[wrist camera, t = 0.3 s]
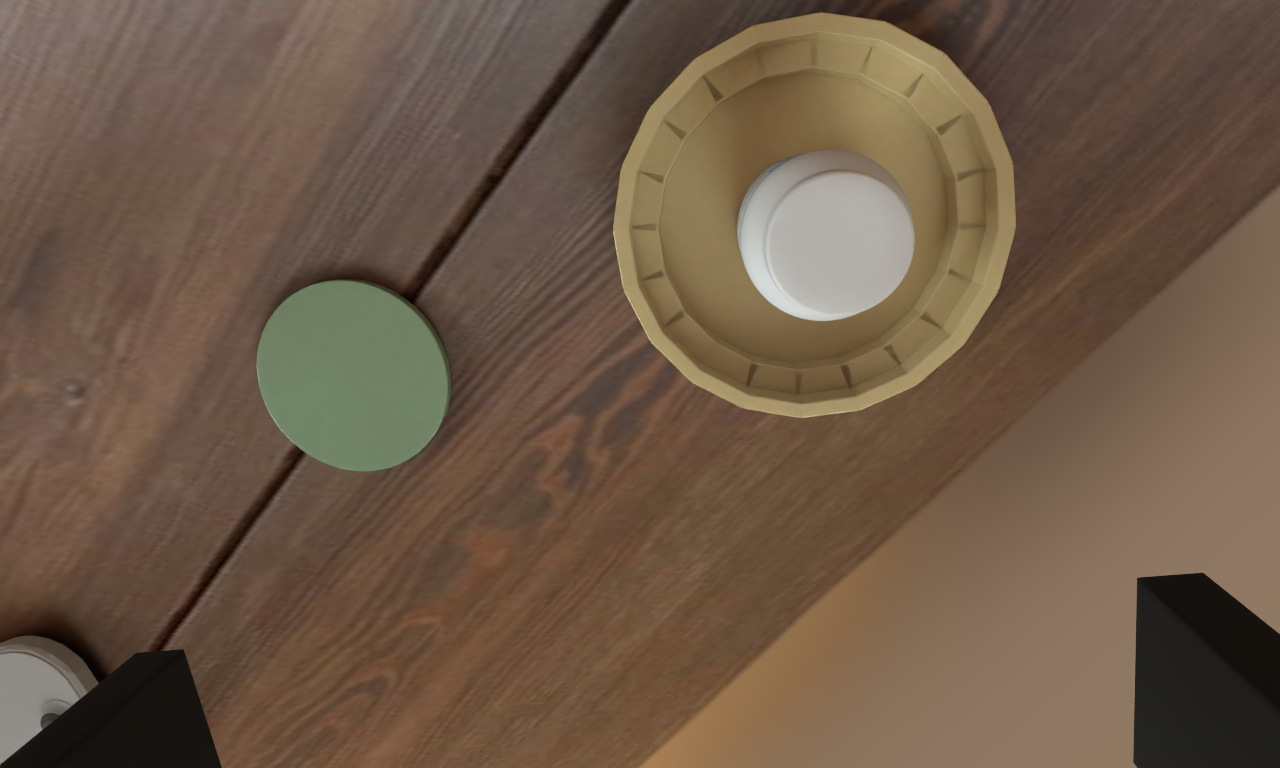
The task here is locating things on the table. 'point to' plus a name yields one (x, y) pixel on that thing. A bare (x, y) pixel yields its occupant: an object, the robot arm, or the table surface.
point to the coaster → (354, 374)
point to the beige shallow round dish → (788, 126)
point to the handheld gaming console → (38, 687)
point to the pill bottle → (825, 234)
